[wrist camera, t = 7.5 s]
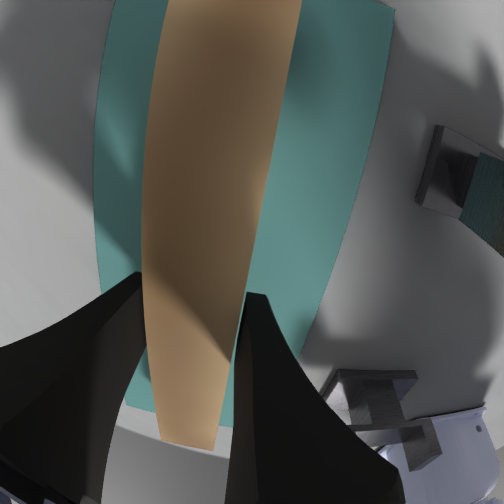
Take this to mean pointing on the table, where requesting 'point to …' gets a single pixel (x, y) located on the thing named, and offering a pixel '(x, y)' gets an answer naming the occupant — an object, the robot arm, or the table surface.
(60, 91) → the table surface
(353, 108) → the teal mat
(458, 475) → the robot arm
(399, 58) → the table surface
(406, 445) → the hook standards
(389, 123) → the table surface
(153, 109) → the oak bar
